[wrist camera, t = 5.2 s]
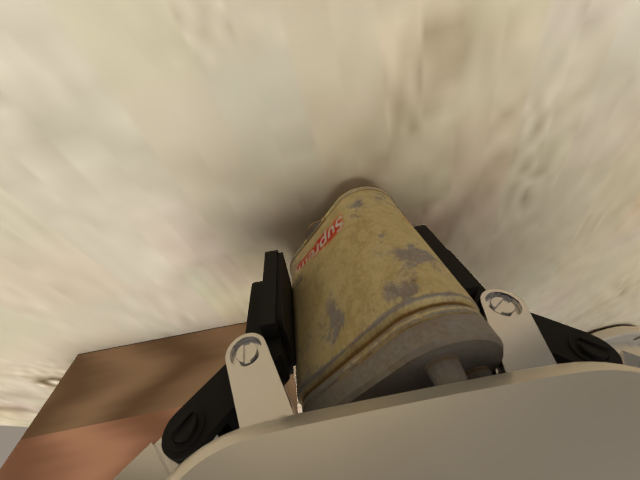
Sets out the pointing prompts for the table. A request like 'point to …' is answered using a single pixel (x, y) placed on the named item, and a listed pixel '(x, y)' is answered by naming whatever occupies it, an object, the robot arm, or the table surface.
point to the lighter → (380, 309)
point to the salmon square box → (118, 405)
